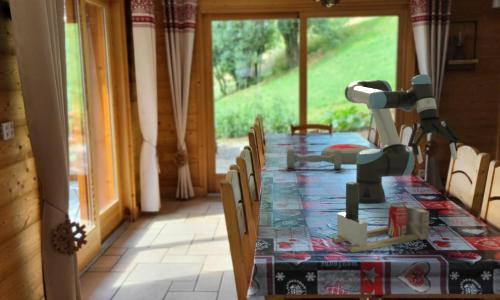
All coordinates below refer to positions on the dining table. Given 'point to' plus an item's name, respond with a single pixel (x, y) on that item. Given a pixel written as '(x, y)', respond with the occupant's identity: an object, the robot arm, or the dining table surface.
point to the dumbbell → (313, 158)
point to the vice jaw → (352, 218)
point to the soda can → (397, 219)
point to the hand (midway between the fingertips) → (438, 161)
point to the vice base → (414, 227)
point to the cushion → (345, 151)
